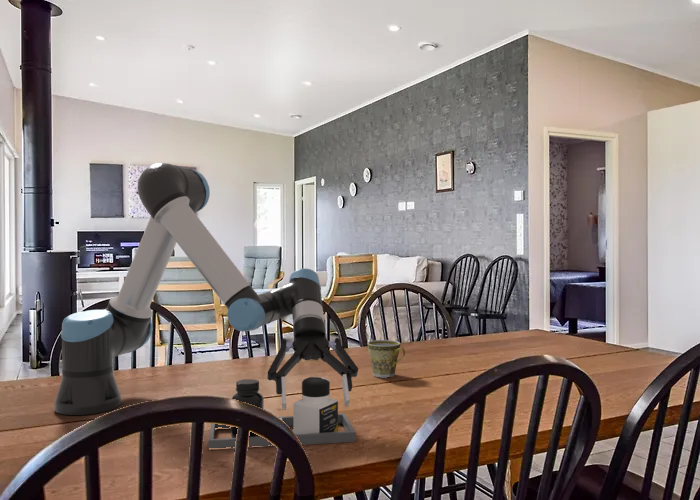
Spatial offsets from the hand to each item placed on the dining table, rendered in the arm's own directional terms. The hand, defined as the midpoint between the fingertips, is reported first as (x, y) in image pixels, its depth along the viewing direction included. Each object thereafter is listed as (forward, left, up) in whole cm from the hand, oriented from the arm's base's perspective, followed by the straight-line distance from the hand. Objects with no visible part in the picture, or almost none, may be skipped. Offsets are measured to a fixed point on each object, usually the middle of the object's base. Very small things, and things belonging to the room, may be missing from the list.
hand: (316, 405), depth 128 cm
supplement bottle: (-14, +5, -7) cm, 16 cm away
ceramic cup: (+39, +40, -7) cm, 56 cm away
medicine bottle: (+1, +2, -7) cm, 7 cm away
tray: (-7, +3, -7) cm, 10 cm away
